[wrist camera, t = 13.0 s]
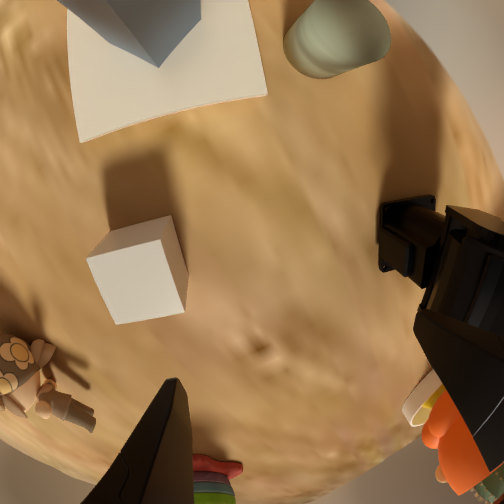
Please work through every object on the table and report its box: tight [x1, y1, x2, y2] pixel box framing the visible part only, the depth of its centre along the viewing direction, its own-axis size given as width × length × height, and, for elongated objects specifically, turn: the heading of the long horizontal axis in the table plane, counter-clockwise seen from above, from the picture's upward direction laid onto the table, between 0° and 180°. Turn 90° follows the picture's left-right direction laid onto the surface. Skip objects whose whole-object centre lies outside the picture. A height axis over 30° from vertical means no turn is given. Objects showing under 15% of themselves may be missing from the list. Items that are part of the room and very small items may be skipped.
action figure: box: [0, 334, 96, 433], centre depth 20 cm, size 10×11×15 cm
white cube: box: [86, 215, 189, 325], centre depth 18 cm, size 5×5×5 cm
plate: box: [67, 0, 268, 143], centre depth 13 cm, size 13×13×1 cm
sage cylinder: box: [283, 0, 391, 79], centre depth 13 cm, size 5×5×6 cm
